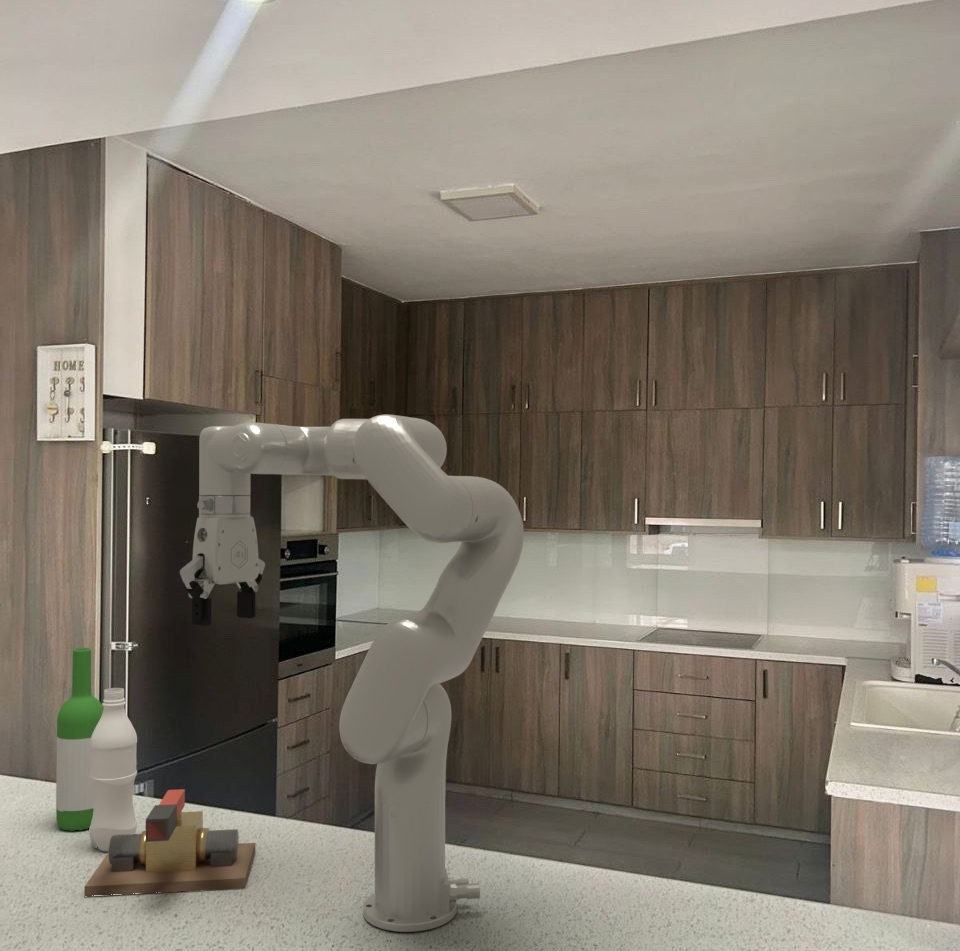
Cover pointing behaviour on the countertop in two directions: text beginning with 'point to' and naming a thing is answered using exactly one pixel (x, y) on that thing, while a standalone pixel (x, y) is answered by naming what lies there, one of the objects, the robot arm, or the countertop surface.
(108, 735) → the water bottle
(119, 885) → the mounting board
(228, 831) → the ball valve
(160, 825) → the valve lever
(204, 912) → the countertop surface
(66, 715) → the wine bottle
